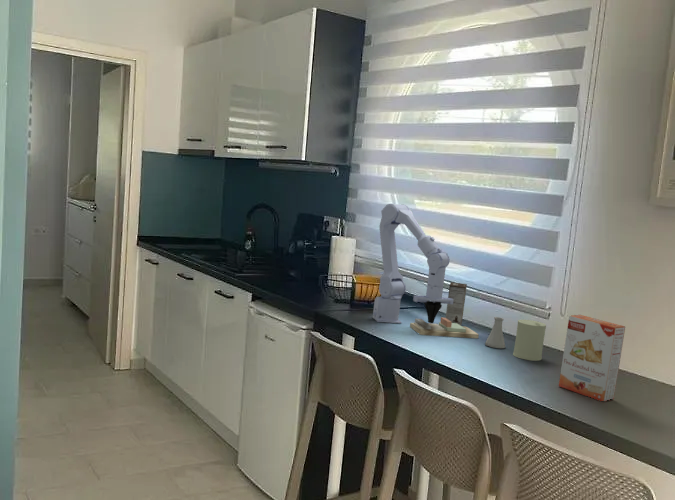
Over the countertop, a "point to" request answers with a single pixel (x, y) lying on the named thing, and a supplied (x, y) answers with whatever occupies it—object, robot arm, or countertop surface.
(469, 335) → the ticket board
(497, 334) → the flask
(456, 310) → the coffee box
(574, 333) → the cracker box
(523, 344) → the can
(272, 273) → the countertop surface
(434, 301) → the robot arm
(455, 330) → the stub
